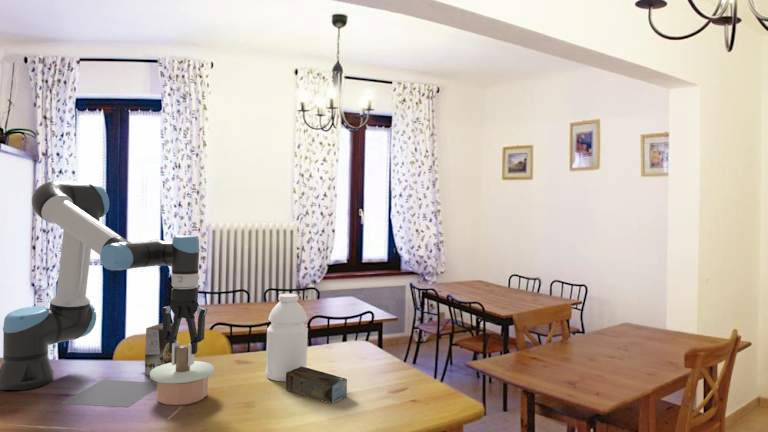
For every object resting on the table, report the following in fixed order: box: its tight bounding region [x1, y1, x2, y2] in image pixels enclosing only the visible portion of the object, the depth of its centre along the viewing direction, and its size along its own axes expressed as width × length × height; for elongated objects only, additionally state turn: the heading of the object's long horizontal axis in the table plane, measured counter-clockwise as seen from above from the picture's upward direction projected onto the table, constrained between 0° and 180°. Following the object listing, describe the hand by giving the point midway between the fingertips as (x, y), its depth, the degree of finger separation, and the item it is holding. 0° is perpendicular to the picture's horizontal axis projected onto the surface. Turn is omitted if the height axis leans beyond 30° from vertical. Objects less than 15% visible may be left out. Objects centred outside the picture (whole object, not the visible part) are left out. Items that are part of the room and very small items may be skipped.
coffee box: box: [144, 322, 178, 376], centre depth 176 cm, size 9×6×16 cm
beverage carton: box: [285, 366, 348, 404], centre depth 161 cm, size 8×19×7 cm, turn 58°
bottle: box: [265, 293, 309, 382], centre depth 177 cm, size 14×14×28 cm
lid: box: [149, 344, 215, 384], centre depth 154 cm, size 18×18×8 cm
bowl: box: [156, 377, 209, 406], centre depth 154 cm, size 14×14×6 cm
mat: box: [60, 379, 157, 408], centre depth 155 cm, size 20×20×1 cm
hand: (182, 363), depth 154 cm, fingers open, 4 cm apart
